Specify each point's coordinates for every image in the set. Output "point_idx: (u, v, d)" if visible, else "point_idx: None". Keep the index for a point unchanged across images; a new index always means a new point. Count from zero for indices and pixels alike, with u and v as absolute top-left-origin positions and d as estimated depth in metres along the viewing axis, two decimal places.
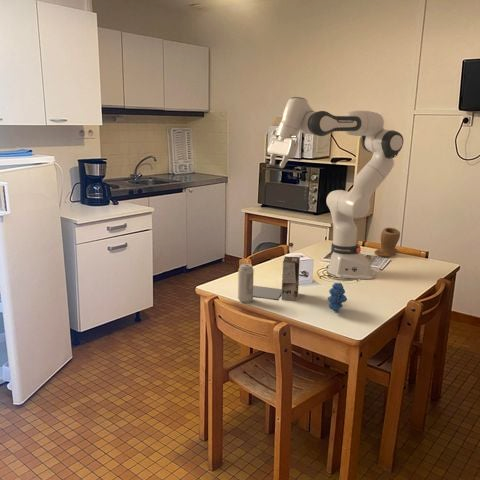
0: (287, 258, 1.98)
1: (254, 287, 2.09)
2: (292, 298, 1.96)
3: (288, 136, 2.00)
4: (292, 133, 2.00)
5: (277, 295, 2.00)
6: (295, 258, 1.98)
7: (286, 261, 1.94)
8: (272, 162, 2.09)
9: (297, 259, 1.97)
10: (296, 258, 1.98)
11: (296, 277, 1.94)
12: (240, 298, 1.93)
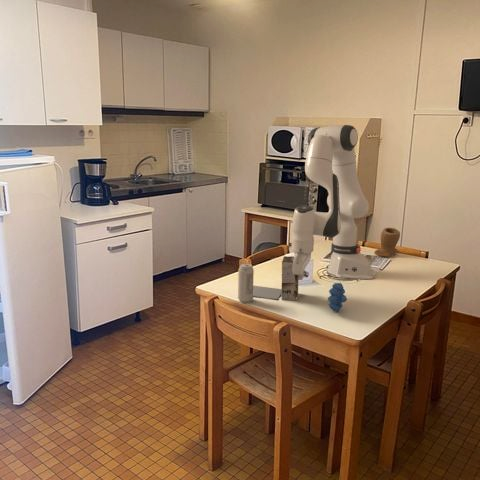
0: (286, 258, 1.99)
1: (254, 287, 2.09)
2: (292, 298, 1.96)
3: (297, 251, 1.91)
4: (300, 247, 1.90)
5: (277, 295, 2.00)
6: None
7: (285, 261, 1.94)
8: None
9: None
10: None
11: (295, 277, 1.94)
12: (240, 298, 1.93)
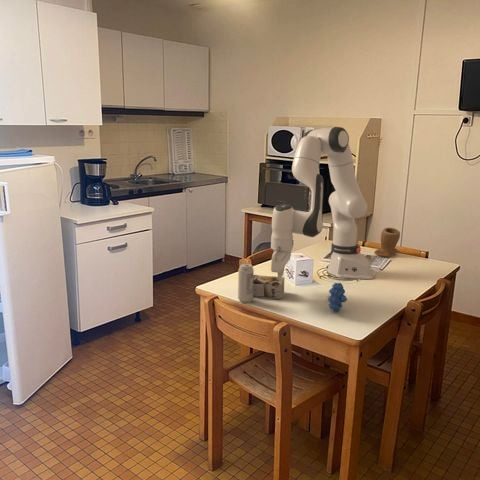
0: None
1: None
2: (279, 287, 1.96)
3: (276, 249, 1.93)
4: (279, 245, 1.92)
5: None
6: None
7: None
8: None
9: None
10: None
11: (257, 282, 1.98)
12: (240, 298, 1.93)
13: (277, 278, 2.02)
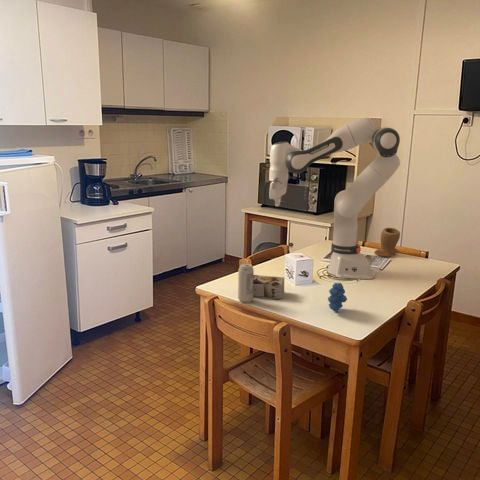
0: None
1: None
2: (279, 287, 1.96)
3: None
4: (276, 176, 2.22)
5: None
6: None
7: None
8: None
9: None
10: None
11: (257, 283, 1.98)
12: (240, 298, 1.93)
13: (277, 278, 2.02)
